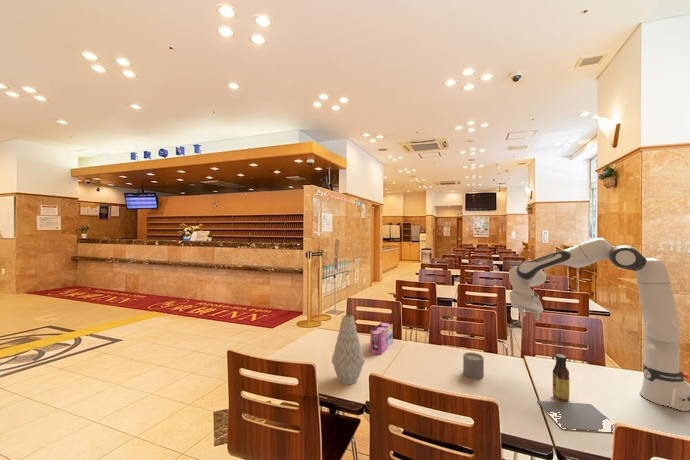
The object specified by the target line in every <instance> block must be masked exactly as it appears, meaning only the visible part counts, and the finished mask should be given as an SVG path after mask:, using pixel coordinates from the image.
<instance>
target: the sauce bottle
mask: <svg viewBox="0 0 690 460" xmlns="http://www.w3.org/2000/svg"><path fill="white" fill-rule="evenodd" d="M552 397H553V398H554V399H555V400H557V401H558V402H563V401H564V402H567V403H568V401H570V371H569V369H568V368H567V356H566V355H565V354H562V353H561V354H560V353H557V354H555V365H554V367H553V369H552Z"/></svg>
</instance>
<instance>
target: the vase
mask: <svg viewBox="0 0 690 460" xmlns="http://www.w3.org/2000/svg"><path fill="white" fill-rule="evenodd" d="M331 363H332V365H333V369H334V372H335V374H336V377H337V378H338V380H339V381H338V382H340V383H341V384H343V385H352V384H355V383H357V381H358V379H359V377H360V375H361V372H362V369H363V365H364V364H365V356H364V354H363V350H362V347H361V341H360V338H359V335H358V331H357V325H356V321H355V318H354V315H351V314H344V315H343V316H342V318H341V322H340V325H339V332H338V334H337V338H336V343H335V346H334V351H333V353H332V357H331Z"/></svg>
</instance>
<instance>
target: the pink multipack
mask: <svg viewBox="0 0 690 460" xmlns="http://www.w3.org/2000/svg"><path fill="white" fill-rule="evenodd" d="M393 327H394V324H393V322H387V321H381V322H380V323H379V324H378V325H376V326H375V327H374V328H373V329H371V330H370V337H369V338H370V342H369V343H370V345H369V347H370V348H369V353H371V354H376V355H383V354H384V352H385V351H387V350H388V348H390V346H391V345H393V343H394V341H393V340H394V335H393V333H394V330H393V329H394V328H393Z"/></svg>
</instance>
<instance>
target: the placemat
mask: <svg viewBox="0 0 690 460" xmlns="http://www.w3.org/2000/svg"><path fill="white" fill-rule="evenodd" d="M536 402H537V404H538V406H540V407H541V408H542V409H543V408H544V409H545V410H546V411H547V412H548V413H549V414H553V413H550V412H554V413H557V416H561V418H560V417H555V416H554V418H560V419H557V421H558V422H557V423H558V424H559V423H560V424H561V427H562V428H566V429H576V430H589V431H588V432H590V431H598V430H599V429H600V430H601V429H603V425H602V423H603V422H602V421H603V420H605V419H608V420H610V418H608V417H607V416H606V415H605V414H603V413H602V412H601V411H600V410H599V409H597V408H596V407H595V406H594V405H593V404H592V403H581V402H568V401H567V402H563V401H550V400H549V401H548V400H547V401H546V400H536ZM544 409H543V410H544ZM545 410H544V411H545ZM546 411H545V412H546ZM547 412H546V413H547ZM558 412H560V413H558ZM559 414H561V415H559ZM614 424H615V423H614ZM614 424H613V425H614ZM613 425H611V432H612V431H613ZM576 430H575V431H576Z"/></svg>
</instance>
